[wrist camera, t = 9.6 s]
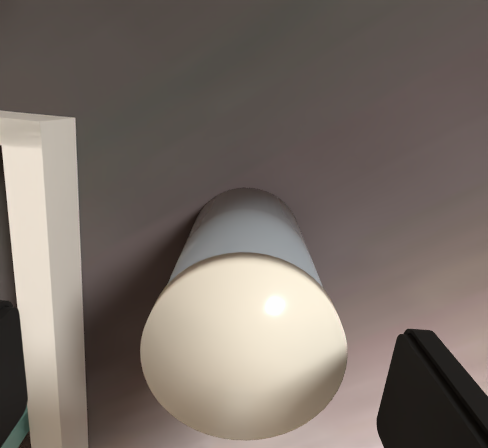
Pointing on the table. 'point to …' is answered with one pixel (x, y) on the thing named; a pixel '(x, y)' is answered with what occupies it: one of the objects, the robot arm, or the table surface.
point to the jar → (244, 325)
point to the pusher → (18, 432)
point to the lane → (47, 272)
